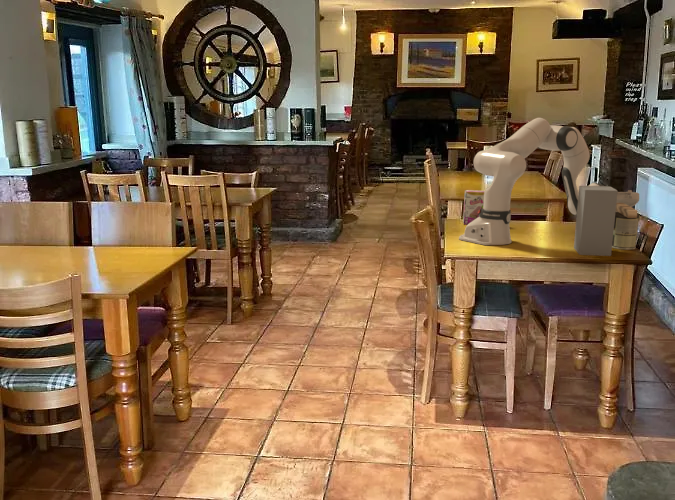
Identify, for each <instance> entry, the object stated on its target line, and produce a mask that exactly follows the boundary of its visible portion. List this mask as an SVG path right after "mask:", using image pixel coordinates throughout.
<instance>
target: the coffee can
mask: <svg viewBox="0 0 675 500" xmlns="http://www.w3.org/2000/svg"><path fill="white" fill-rule="evenodd" d="M639 219H640V214H639V213H637V218H627V217H626V216H624V215H622V214H621V213H619V212H615V222H614V231H613V241H612V249H617V250H624V251H625V250H626V251H628V250H632V251H633V250H635V249H637V248H636V247H637V238H638V229H639Z"/></svg>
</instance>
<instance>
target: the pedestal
mask: <svg viewBox="0 0 675 500" xmlns="http://www.w3.org/2000/svg"><path fill="white" fill-rule="evenodd" d="M617 192H619V191H618V190H617V189H616V188H614V187H612V186H607V185H603V186H589V185H579V186H578V193H579V195H578V206H577V216H576V219H575V231H574V243H573V248H574V249H573V250H575V251H576V252H577V254H578V255H581V256H602V257H605V256H607V257H611V256H612V249H613V248H612V241H613V231H614V222H615V212H616V202H617Z"/></svg>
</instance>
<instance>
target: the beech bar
mask: <svg viewBox="0 0 675 500" xmlns="http://www.w3.org/2000/svg"><path fill="white" fill-rule="evenodd" d="M616 211H617V212H619V213H621V214H622V215H624V216H626V217H627V218H637V214H638V209H635V208H633V206H632V207H630V206H628V205H626V204H624V203H616Z"/></svg>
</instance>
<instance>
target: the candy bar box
mask: <svg viewBox="0 0 675 500" xmlns="http://www.w3.org/2000/svg"><path fill="white" fill-rule="evenodd" d="M484 192H485V190H472V189H466V190H464V201H463V214H462V215H463V216H462V217H463V219H462V223H463V225H466V226H467V225H468V224H469V223H470V222H472V221H473V220H475V219H476V218H478V217H479V213H478V212H479V210H481V209H483V205H484Z"/></svg>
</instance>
